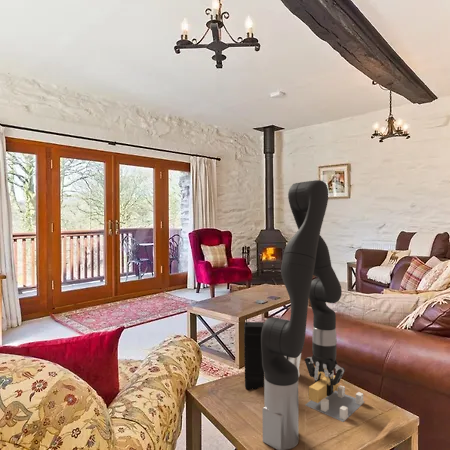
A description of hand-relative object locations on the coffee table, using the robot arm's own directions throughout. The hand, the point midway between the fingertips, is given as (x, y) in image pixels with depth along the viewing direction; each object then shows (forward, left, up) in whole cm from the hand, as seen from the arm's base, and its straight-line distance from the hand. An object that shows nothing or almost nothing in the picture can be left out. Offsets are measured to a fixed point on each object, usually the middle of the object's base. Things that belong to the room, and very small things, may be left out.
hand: (324, 392), depth 114 cm
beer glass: (+7, +17, -3) cm, 19 cm away
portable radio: (-7, +23, -3) cm, 25 cm away
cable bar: (0, 0, 0) cm, 0 cm away
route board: (0, -4, -3) cm, 5 cm away
